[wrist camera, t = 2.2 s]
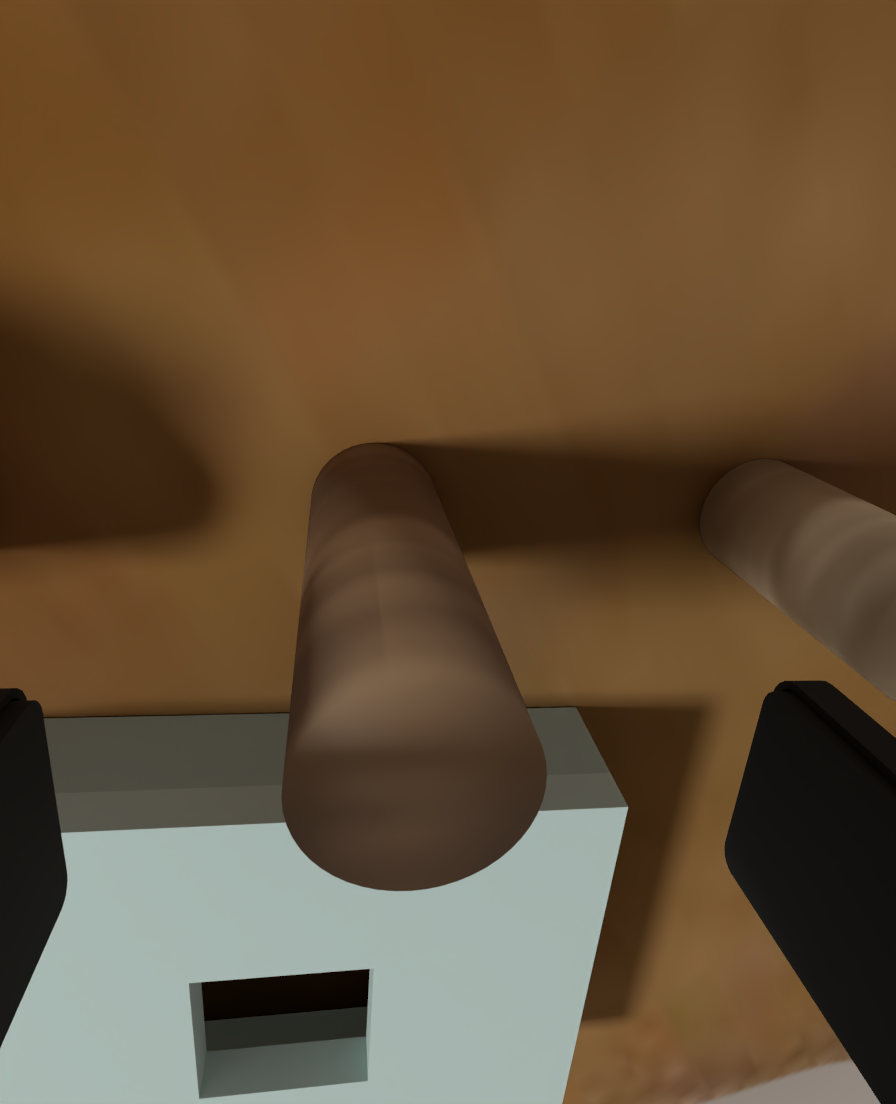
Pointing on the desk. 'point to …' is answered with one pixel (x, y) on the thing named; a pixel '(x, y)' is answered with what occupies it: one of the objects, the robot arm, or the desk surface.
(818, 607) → the medium pin
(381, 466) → the long pin
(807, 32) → the desk surface
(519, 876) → the hole board
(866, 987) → the robot arm
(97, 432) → the desk surface
